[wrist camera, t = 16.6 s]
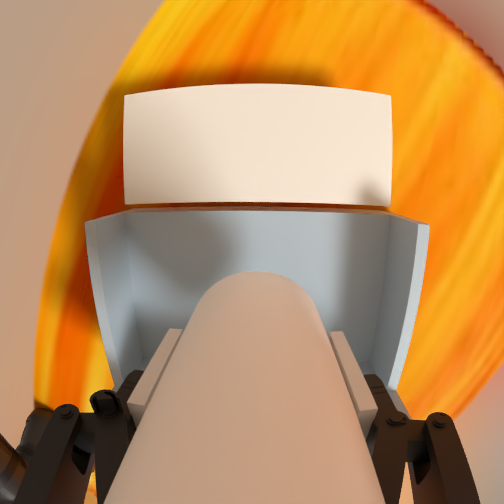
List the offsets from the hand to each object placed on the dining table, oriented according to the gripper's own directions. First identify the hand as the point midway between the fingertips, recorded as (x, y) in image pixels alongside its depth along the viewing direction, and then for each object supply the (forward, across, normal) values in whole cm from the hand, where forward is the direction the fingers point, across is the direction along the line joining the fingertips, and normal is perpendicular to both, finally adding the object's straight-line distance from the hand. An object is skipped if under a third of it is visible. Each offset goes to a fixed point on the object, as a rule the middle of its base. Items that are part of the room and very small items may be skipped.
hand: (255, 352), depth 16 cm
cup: (+3, 0, 0) cm, 3 cm away
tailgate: (+8, 0, +8) cm, 11 cm away
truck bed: (+13, 0, -2) cm, 13 cm away
